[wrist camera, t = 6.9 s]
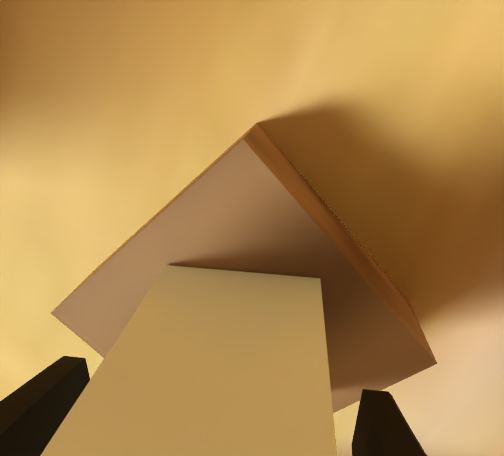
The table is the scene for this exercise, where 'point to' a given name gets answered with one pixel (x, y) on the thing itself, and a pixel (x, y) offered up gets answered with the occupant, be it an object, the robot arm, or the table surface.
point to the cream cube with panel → (211, 373)
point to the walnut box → (262, 266)
